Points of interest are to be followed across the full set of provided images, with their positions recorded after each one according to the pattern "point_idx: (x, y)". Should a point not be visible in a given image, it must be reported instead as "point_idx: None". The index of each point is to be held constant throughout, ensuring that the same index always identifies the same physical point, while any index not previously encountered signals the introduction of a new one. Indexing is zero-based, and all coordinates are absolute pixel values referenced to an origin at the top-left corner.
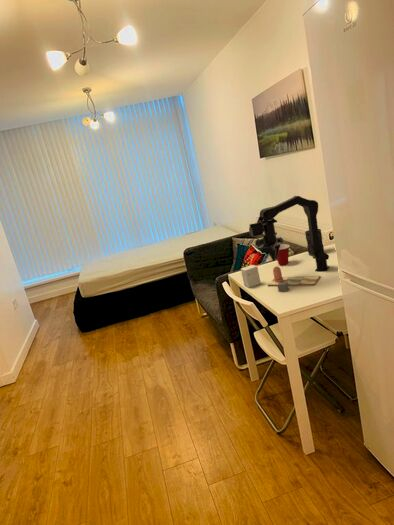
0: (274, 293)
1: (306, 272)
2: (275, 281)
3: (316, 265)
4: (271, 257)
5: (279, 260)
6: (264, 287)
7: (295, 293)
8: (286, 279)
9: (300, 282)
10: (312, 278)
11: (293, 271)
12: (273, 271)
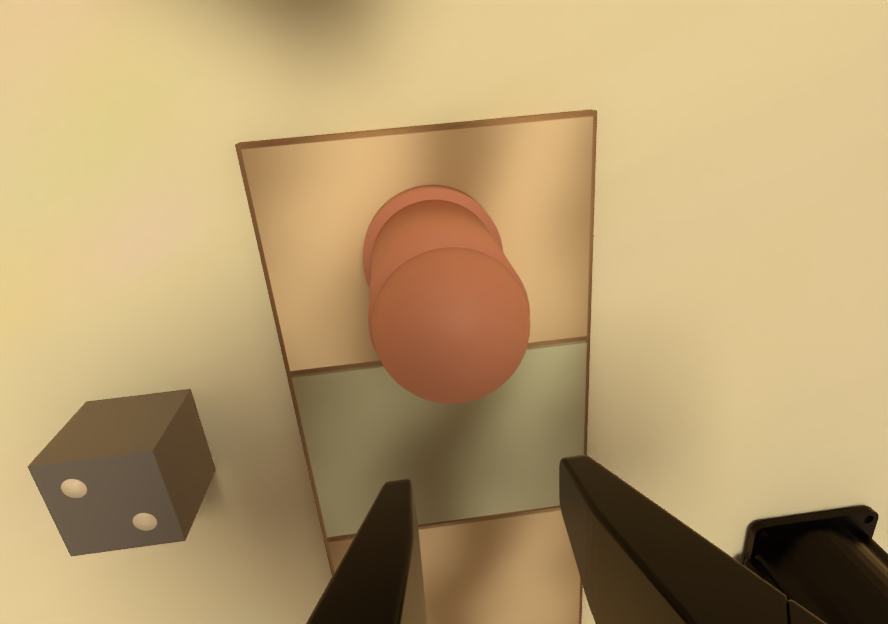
0: (17, 373)
1: (747, 445)
2: (367, 233)
3: (829, 566)
4: (328, 594)
5: None
6: (186, 100)
7: (105, 584)
8: None
9: None
10: (500, 600)
11: (839, 270)
12: (388, 276)
